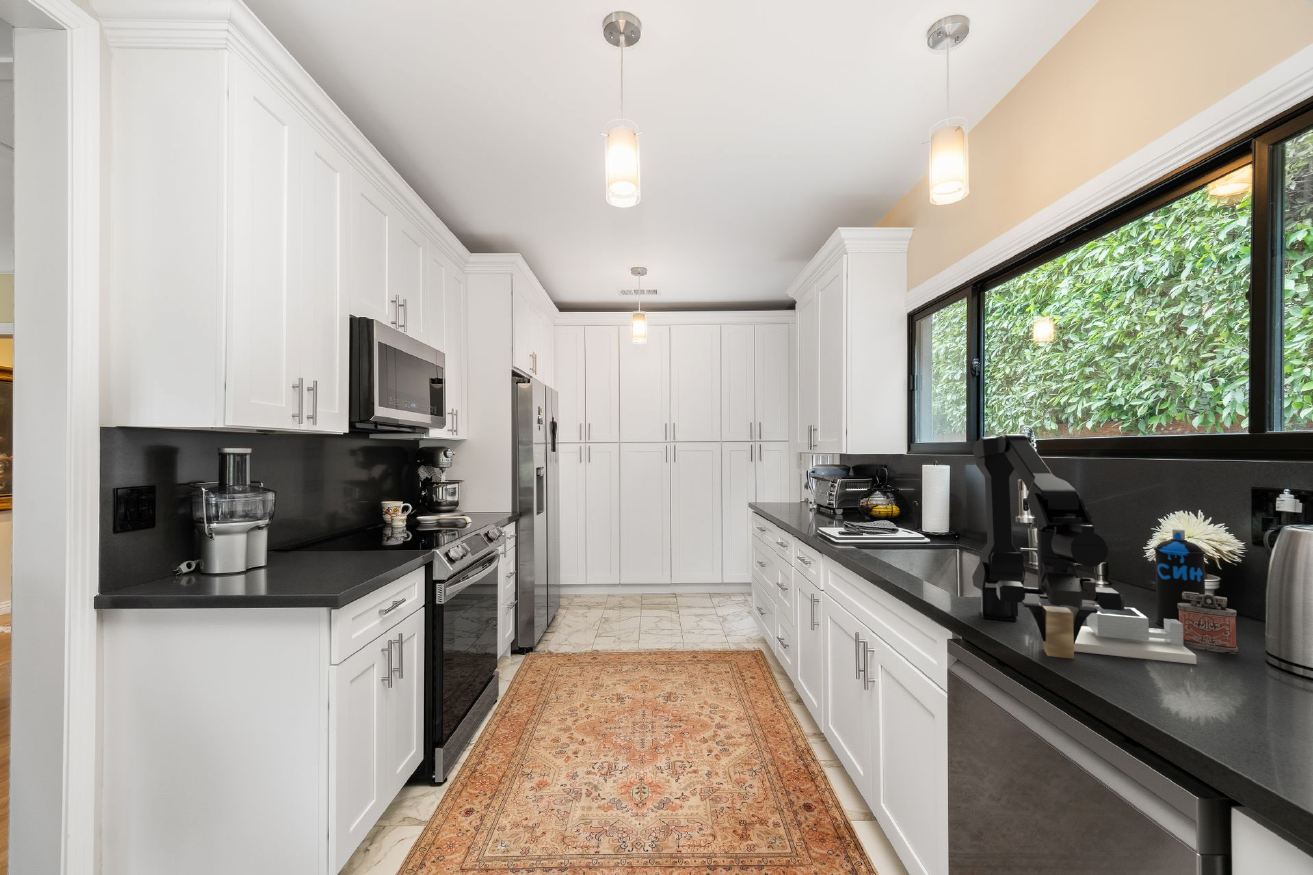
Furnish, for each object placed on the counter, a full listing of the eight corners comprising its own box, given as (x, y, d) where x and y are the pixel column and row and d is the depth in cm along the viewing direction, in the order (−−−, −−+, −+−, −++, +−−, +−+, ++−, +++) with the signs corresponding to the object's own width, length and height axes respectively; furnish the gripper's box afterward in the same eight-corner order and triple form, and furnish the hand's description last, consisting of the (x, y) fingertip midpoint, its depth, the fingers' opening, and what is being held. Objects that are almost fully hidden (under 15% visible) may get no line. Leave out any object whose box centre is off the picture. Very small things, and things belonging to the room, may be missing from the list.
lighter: (1237, 650, 109) (1235, 595, 110) (1237, 654, 107) (1236, 598, 107) (1178, 640, 115) (1177, 588, 115) (1178, 645, 112) (1176, 591, 113)
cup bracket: (1097, 641, 110) (1097, 614, 110) (1087, 629, 117) (1086, 604, 117) (1188, 650, 105) (1188, 621, 105) (1171, 637, 112) (1171, 610, 112)
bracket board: (1064, 650, 110) (1064, 642, 110) (1050, 630, 122) (1050, 622, 122) (1196, 664, 102) (1196, 655, 102) (1167, 641, 114) (1166, 633, 114)
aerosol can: (1157, 618, 130) (1155, 526, 130) (1209, 625, 124) (1206, 529, 125) (1153, 626, 124) (1150, 529, 125) (1206, 634, 118) (1203, 533, 119)
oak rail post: (1047, 655, 107) (1046, 611, 107) (1043, 648, 111) (1042, 605, 111) (1074, 658, 106) (1072, 613, 106) (1068, 651, 109) (1067, 607, 110)
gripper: (1003, 560, 105) (1005, 649, 105) (1134, 567, 98) (1136, 664, 97) (995, 550, 115) (997, 631, 115) (1113, 556, 108) (1115, 643, 107)
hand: (1057, 642), depth 108 cm, fingers closed on oak rail post, 4 cm apart
